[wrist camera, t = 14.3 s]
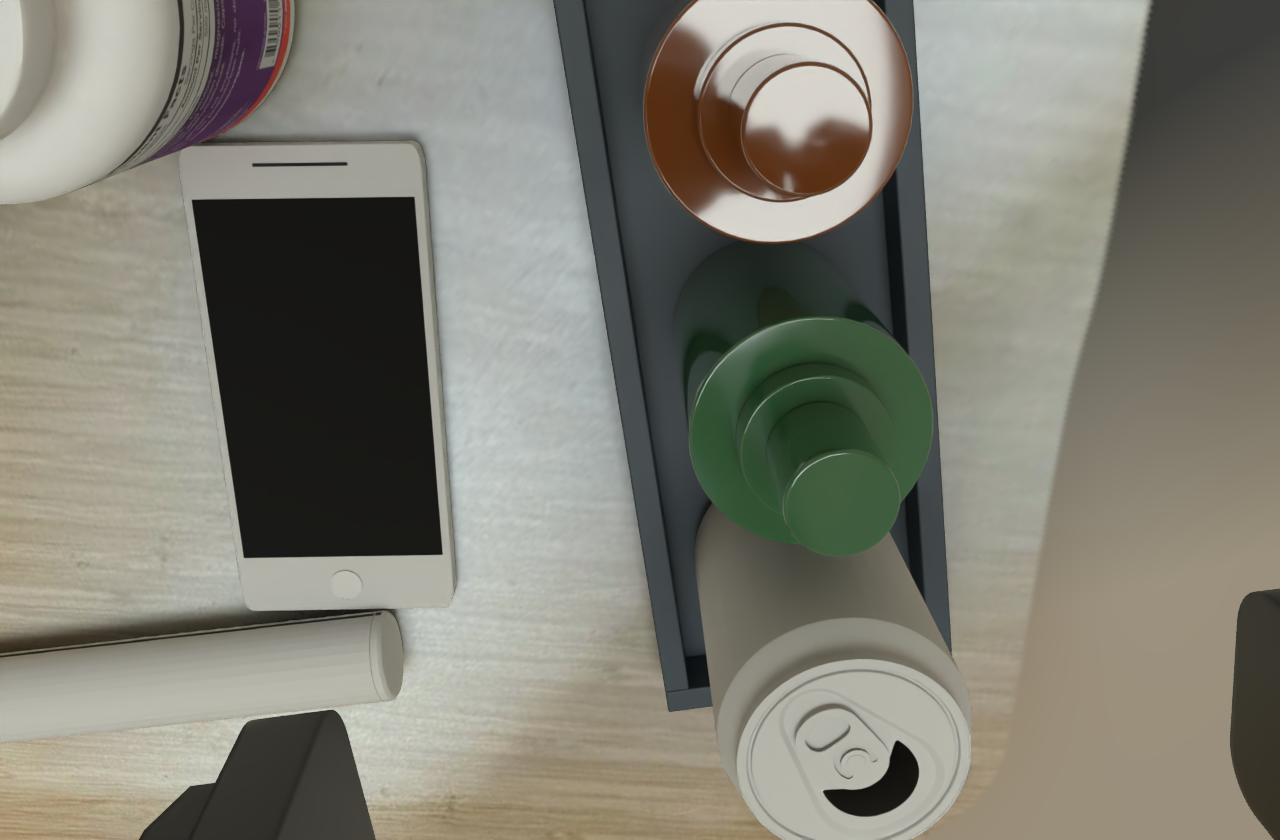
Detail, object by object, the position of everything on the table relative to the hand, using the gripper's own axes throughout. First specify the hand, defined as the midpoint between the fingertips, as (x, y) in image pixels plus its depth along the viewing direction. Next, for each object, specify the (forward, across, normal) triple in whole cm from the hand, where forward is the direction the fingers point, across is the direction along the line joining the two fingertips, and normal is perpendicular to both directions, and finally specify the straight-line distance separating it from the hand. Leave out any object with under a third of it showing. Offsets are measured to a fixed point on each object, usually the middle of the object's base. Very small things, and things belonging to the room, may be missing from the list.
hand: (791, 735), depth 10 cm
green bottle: (+26, -3, +4) cm, 26 cm away
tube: (+27, +23, +13) cm, 38 cm away
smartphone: (+27, +11, +4) cm, 29 cm away
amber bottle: (+26, -3, -4) cm, 26 cm away
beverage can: (+26, -3, +12) cm, 29 cm away
